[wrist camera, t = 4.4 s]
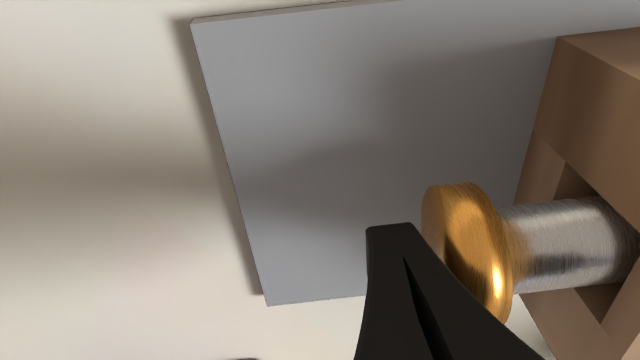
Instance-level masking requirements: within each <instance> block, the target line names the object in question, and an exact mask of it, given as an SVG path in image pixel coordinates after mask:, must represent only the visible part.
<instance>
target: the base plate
mask: <svg viewBox="0 0 640 360" xmlns="http://www.w3.org/2000/svg"><path fill="white" fill-rule="evenodd" d="M189 25H190V28H191V32H192V36H193V39H194V43H195V47H196V50H197V54H198V58H199V61H200V65H201V68H202V72H203V76H204V79H205V83H206V87H207V90H208V94H209V97H210V101H211V105H212V108H213V112H214V116H215V119H216V123H217V126H218V130H219V134H220V137H221V141H222V145H223V148H224V152H225V155H226V159H227V163H228V166H229V170H230V174H231V177H232V181H233V184H234V188H235V192H236V195H237V199H238V203H239V206H240V210H241V214H242V217H243V221H244V224H245V228H246V232H247V235H248V239H249V243H250V246H251V250H252V253H253V257H254V261H255V264H256V268H257V272H258V275H259V279H260V282H261V286H262V290H263V293H264V297H265V301H266V304H267V307H268V306H276V305H285V304H294V303H302V302H311V301H320V300H329V299H337V298H346V297H355V296H363V295H366V292H367V282H368V277H367V265H366V234H365V230H366V229H367V228H368V227H370V226H378V225H387V224H395V223H404V222H411V223H412V224H414V226H415V227H416V229H417V230H418V231H419V233H420V234H421V207H422V200H423V197H424V194H425V191H426V190H427V188H428V187H430V186H434V185H443V184H452V183H460V182H472V183H475V184H476V185H478V186H479V187H480V188H481V189H482V190H483V191H484V192H485V194H486V195H487V196H488V198H489V199H490V201H491V203H492V204H493V206H494V207H501V206H510V205H513V202H514V198H515V194H516V190H517V186H518V183H519V179H520V175H521V171H522V167H523V164H524V160H525V156H526V152H527V148H528V145H529V141H530V137H531V133H532V130H533V126H534V122H535V118H536V114H537V111H538V107H539V103H540V99H541V95H542V92H543V88H544V84H545V80H546V76H547V73H548V69H549V65H550V61H551V57H552V54H553V50H554V46H555V42H556V38H557V36H563V35H572V34H581V33H590V32H599V31H608V30H617V29H626V28H634V27H640V0H353V1H344V2H335V3H326V4H318V5H309V6H300V7H291V8H282V9H273V10H264V11H255V12H246V13H237V14H228V15H219V16H210V17H201V18H194V19H193V20H192V21H191V23H190V24H189Z"/></svg>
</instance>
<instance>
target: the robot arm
mask: <svg viewBox="0 0 640 360" xmlns="http://www.w3.org/2000/svg"><path fill="white" fill-rule="evenodd" d="M365 234H366V265H367V277H368V282H367V292H366V299H365V306H364V313H363V319H362V324H361V330H360V334H359V339H358V344H357V348H356V352H355V357H354V360H545V359H544V358H542V357H541V356H540V355H539V354H537V353H536V352H535V351H534V350H533V349H531V348H530V347H529V346H528V345H527V344H525V343H524V342H523V341H522V340H521V339H519V338H518V337H517V336H516V335H515V334H514V333H513V332H511V331H510V330H509V329H508V328H507V327H506V326H505V325H504V324H502V323H501V322H500V321H499V320H498V319H497V318H496V317H495V316H494V315H493V314H492V313H491V312H490V311H489V310H488V309H487V308H485V307H484V306H483V305H482V304H481V303H480V302H479V301H478V300H477V299H476V298H475V297H474V296H473V295H472V293H471V292H470V291H469V290H468V289H467V288H466V287H465V286H464V285H463V284H462V283H461V282H460V281H459V280H458V278H457V277H456V276H455V275H454V274H453V273H452V272H451V271H450V270H449V268H448V267H447V266H446V265H445V264H444V263H443V262H442V260H441V259H440V258H439V257H438V256H437V254H436V253H435V252H434V251H433V250H432V248H431V247H430V246H429V245H428V243H427V242H426V241H425V239H424V238H423V237H422V235H421V234H420V233H419V231H418V230H417V229H416V227H415V226H414V224H412V223H411V222H404V223H395V224H387V225H378V226H370V227H368V228H367V229H366V230H365Z"/></svg>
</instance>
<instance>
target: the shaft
mask: <svg viewBox="0 0 640 360" xmlns="http://www.w3.org/2000/svg"><path fill="white" fill-rule="evenodd" d="M421 235H422V237H423V238H424V239H425V241H426V242H427V243H428V245H429V246H430V247H431V248H432V250H433V251H434V252H435V253H436V254H437V256H438V257H439V258H440V259H441V260H442V262H443V263H444V264H445V265H446V266H447V267H448V268H449V270H450V271H451V272H452V273H453V274H454V275H455V276H456V277H457V278H458V280H459V281H460V282H461V283H462V284H463V285H464V286H465V287H466V288H467V289H468V290H469V291H470V292H471V293H472V295H473V296H474V297H475V298H476V299H477V300H478V301H479V302H480V303H481V304H482V305H483V306H484V307H485V308H487V309H488V310H489V311H490V312H491V313H492V314H493V315H494V316H495V317H496V318H497V319H498V320H499V321H500V322H501V323H502V324H505V323H506V321H507V319H508V317H509V314H510V310H511V305H512V295H513V294H521V293H530V292H539V291H547V290H556V289H565V288H574V287H582V286H591V285H600V284H608V283H617V282H625V280H626V279H627V277H628V275H629V273H630V272H631V270H632V268H633V266H634V265H635V263H636V261H637V259H638V258H639V256H640V233H639V232H638V231H637V230H636V229H635V228H634V227H633V226H632V225H631V224H630V223H629V222H628V221H627V220H626V219H625V218H624V217H623V216H622V215H620V214H619V213H618V212H617V211H616V210H615V209H614V208H613V207H612V206H611V205H610V204H609V203H608V202H607V201H606V200H605V199H604V198H603V197H602V196H601V195H597V196H589V197H580V198H571V199H562V200H554V201H545V202H536V203H527V204H519V205H510V206H501V207H494V206H493V204H492V203H491V201H490V199H489V198H488V196H487V195H486V194H485V192H484V191H483V190H482V189H481V188H480V187H479V186H478V185H476V184H475V183H472V182H460V183H452V184H443V185H434V186H430V187H428V188H427V190H426V191H425V194H424V197H423V200H422V207H421Z"/></svg>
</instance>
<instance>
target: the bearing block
mask: <svg viewBox="0 0 640 360" xmlns="http://www.w3.org/2000/svg"><path fill="white" fill-rule="evenodd" d="M597 195H601V196H602V197H603V198H604V199H605V200H606V201H607V202H608V203H609V204H610V205H611V206H612V207H613V208H614V209H615V210H616V211H617V212H618V213H619V214H620V215H622V216H623V217H624V218H625V219H626V220H627V221H628V222H629V223H630V224H631V225H632V226H633V227H634V228H635V229H636V230H637V231H638V232H639V233H640V27H634V28H626V29H617V30H608V31H599V32H590V33H581V34H572V35H563V36H557V38H556V42H555V46H554V50H553V54H552V57H551V61H550V65H549V69H548V73H547V76H546V80H545V84H544V88H543V92H542V95H541V99H540V103H539V107H538V111H537V114H536V118H535V122H534V126H533V130H532V133H531V137H530V141H529V145H528V148H527V152H526V156H525V160H524V164H523V167H522V171H521V175H520V179H519V183H518V186H517V190H516V194H515V198H514V202H513V205H519V204H527V203H536V202H545V201H554V200H562V199H571V198H580V197H589V196H597ZM519 295H520V297H521V299H522V301H523V302H524V304H525V306H526V308H527V309H528V311H529V313H530V315H531V316H532V318H533V320H534V321H535V323H536V325H537V327H538V328H539V330H540V332H541V334H542V335H543V337H544V339H545V340H546V342H547V344H548V346H549V347H550V349H551V351H552V353H553V354H554V356H555V358H556V359H557V360H640V256H639V258H638V259H637V261H636V263H635V265H634V266H633V268H632V270H631V272H630V273H629V275H628V277H627V279H626V280H625V282H617V283H608V284H600V285H591V286H582V287H574V288H565V289H556V290H547V291H539V292H530V293H521V294H519Z"/></svg>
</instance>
